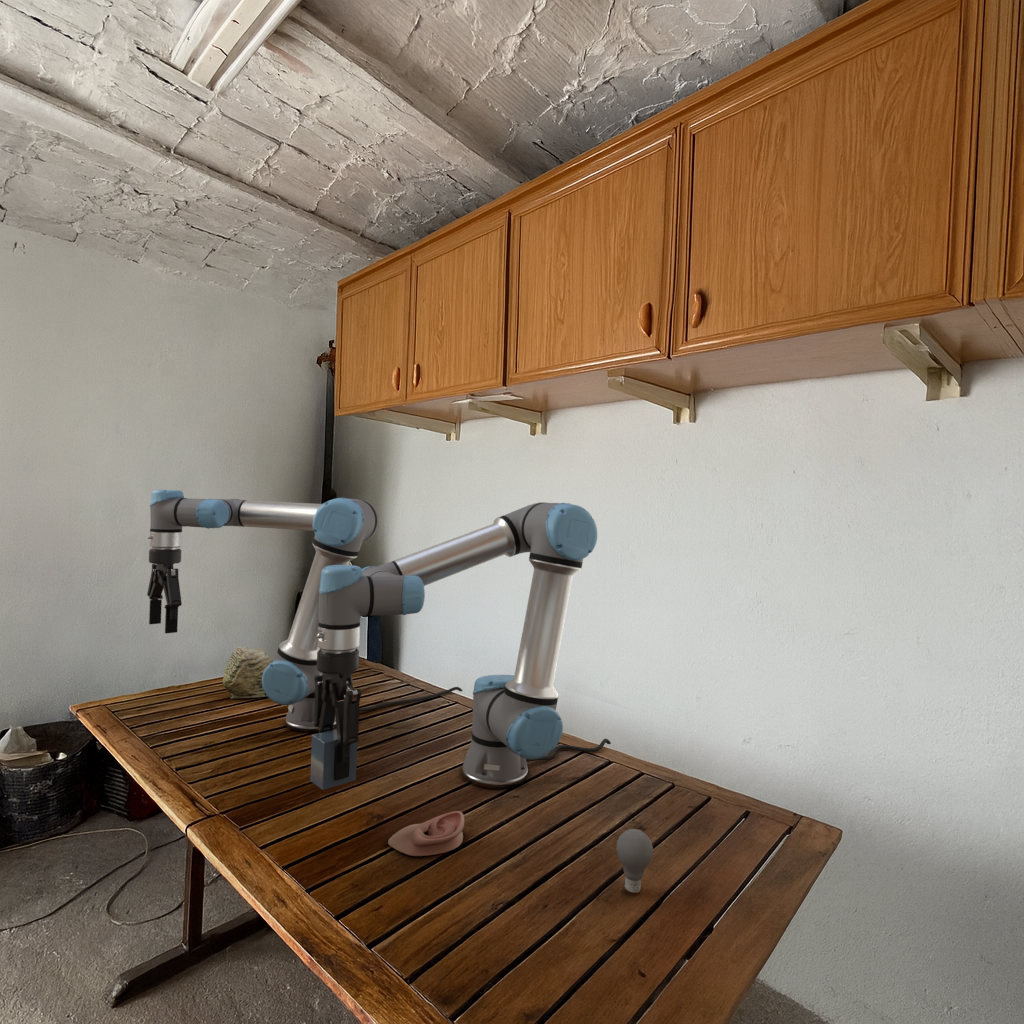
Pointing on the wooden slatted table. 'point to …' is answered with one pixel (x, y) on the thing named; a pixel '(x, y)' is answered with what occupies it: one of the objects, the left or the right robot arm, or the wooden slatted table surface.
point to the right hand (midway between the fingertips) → (333, 772)
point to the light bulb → (634, 857)
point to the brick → (329, 760)
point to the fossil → (246, 673)
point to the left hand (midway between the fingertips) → (162, 628)
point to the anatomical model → (430, 835)
